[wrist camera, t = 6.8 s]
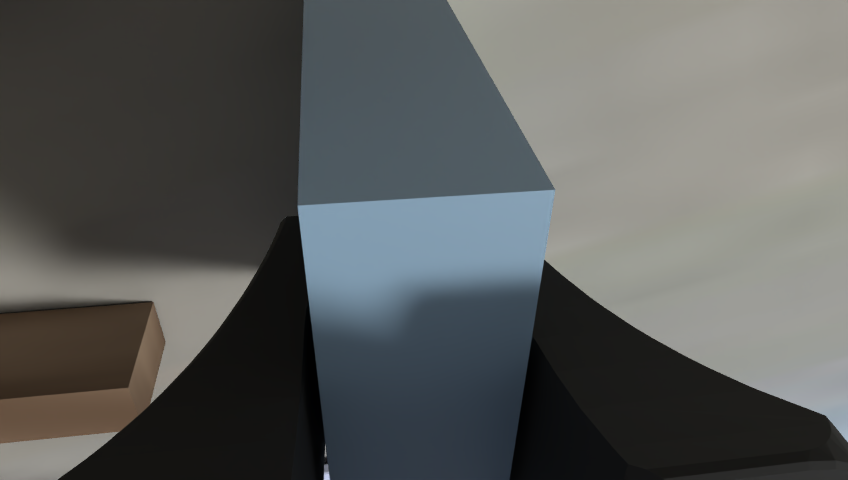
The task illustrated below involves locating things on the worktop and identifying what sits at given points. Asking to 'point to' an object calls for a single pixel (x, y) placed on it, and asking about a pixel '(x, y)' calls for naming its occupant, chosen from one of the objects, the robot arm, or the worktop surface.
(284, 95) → the worktop surface
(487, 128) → the panel
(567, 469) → the robot arm
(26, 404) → the rack
